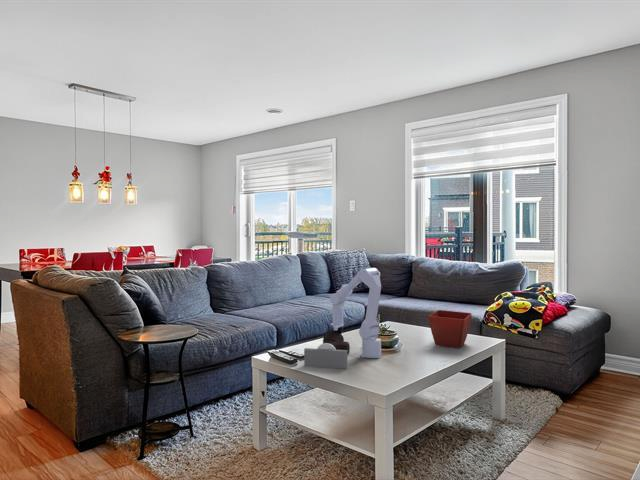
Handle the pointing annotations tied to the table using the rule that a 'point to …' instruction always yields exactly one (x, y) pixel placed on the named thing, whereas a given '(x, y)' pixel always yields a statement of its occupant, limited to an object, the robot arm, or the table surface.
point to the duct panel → (325, 357)
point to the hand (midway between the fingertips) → (337, 340)
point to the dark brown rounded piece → (336, 341)
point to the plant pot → (449, 328)
